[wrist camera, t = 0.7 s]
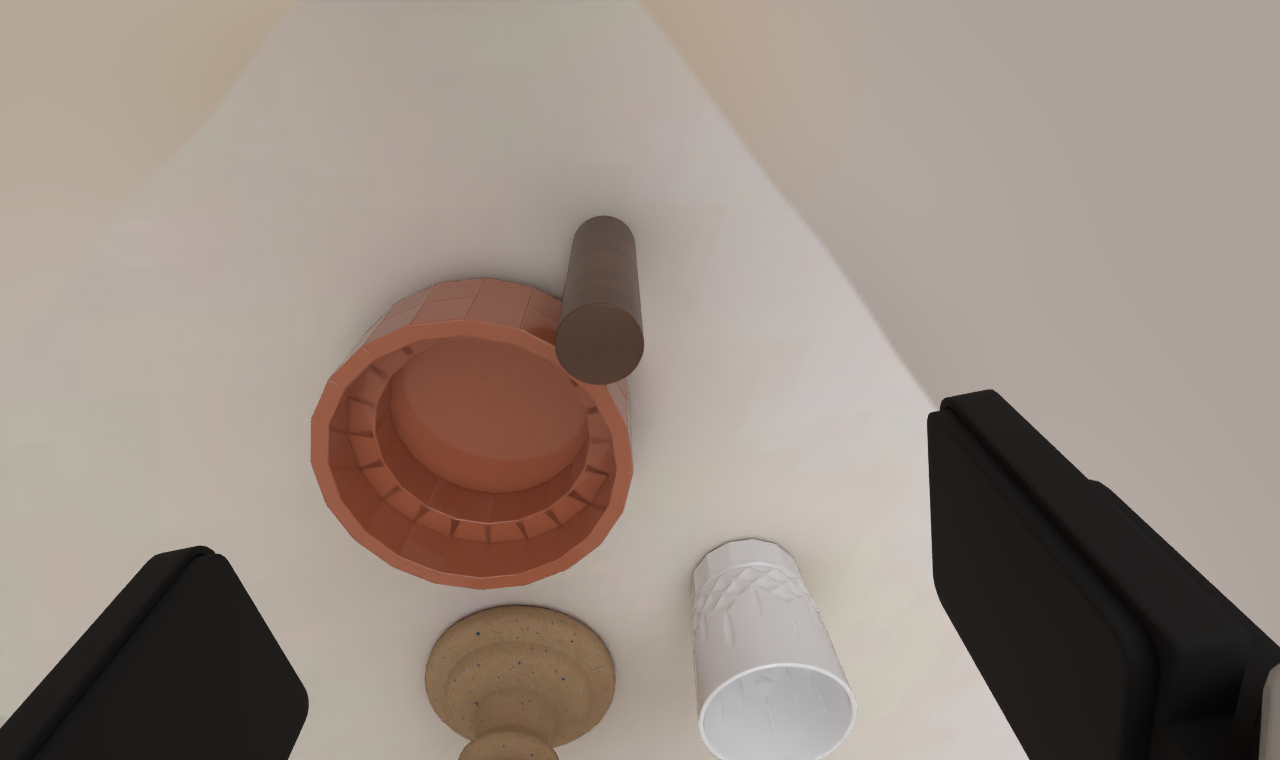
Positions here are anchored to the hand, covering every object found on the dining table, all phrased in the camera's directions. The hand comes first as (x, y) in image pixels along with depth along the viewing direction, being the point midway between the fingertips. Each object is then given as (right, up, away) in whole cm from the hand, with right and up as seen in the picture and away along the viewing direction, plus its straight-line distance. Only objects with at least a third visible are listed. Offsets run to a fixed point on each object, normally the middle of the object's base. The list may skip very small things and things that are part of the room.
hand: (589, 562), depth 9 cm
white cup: (+7, -10, +35) cm, 37 cm away
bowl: (-7, +1, +29) cm, 30 cm away
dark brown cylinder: (-1, +9, +25) cm, 27 cm away
